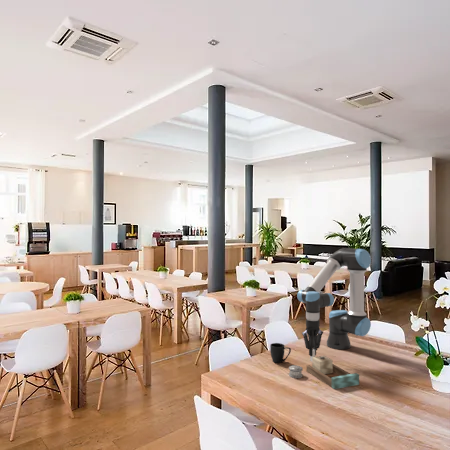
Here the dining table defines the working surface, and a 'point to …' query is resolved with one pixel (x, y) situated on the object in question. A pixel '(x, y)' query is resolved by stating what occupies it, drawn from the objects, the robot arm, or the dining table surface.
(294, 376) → the gray yo-yo
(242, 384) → the dining table surface
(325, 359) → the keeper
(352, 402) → the dining table surface
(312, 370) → the channel
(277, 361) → the mug
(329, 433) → the dining table surface
